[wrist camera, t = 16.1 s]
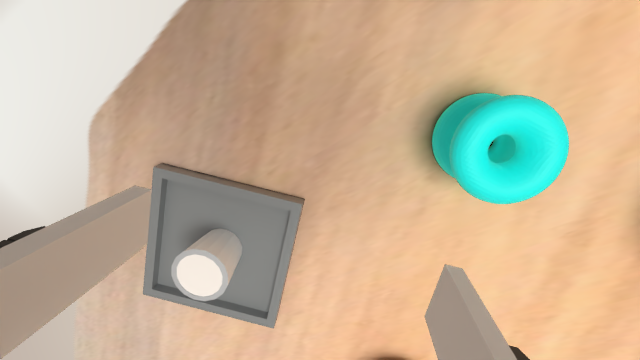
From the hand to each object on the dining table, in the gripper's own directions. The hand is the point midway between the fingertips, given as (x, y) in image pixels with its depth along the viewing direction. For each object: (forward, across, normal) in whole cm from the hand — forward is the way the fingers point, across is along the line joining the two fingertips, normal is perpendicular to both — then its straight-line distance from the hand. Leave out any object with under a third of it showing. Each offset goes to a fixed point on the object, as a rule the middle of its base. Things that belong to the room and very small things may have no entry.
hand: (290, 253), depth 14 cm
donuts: (+27, +16, +5) cm, 32 cm away
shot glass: (+26, -11, -17) cm, 33 cm away
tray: (+27, -11, -17) cm, 34 cm away
